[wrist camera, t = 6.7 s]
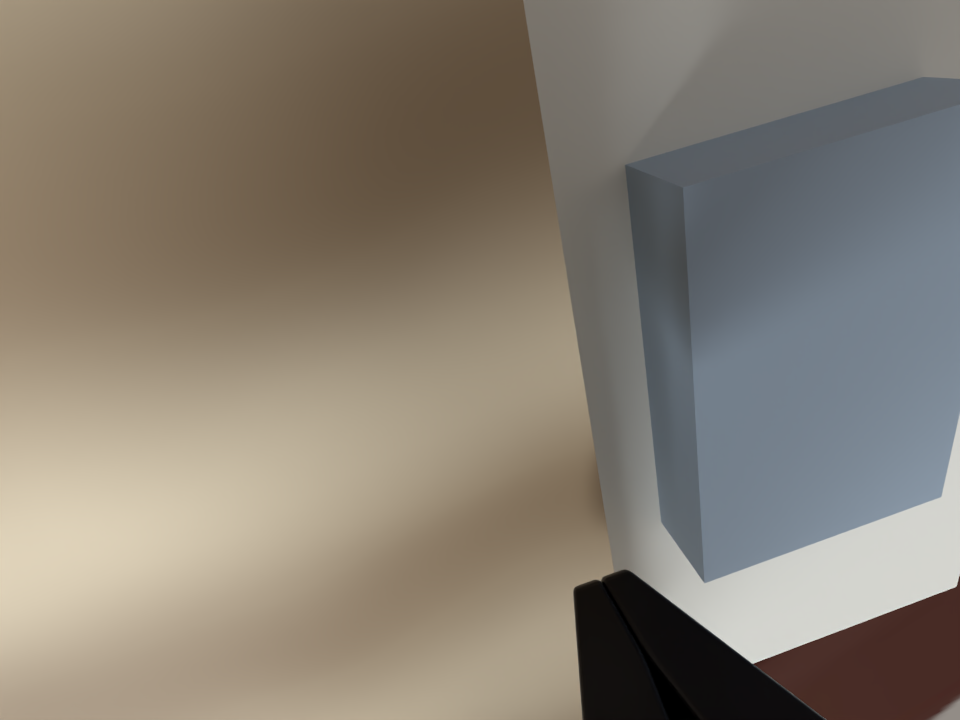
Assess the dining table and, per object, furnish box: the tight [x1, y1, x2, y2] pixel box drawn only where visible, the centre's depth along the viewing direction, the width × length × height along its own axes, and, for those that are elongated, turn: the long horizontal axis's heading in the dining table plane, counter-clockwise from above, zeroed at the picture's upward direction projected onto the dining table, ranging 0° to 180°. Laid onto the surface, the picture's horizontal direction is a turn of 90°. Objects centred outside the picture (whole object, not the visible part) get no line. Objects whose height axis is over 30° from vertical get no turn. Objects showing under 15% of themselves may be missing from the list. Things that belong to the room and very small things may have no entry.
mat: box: [523, 0, 960, 664], centre depth 13 cm, size 24×12×1 cm, turn 13°
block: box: [625, 77, 960, 583], centre depth 12 cm, size 9×6×2 cm, turn 13°
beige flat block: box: [0, 0, 614, 720], centre depth 11 cm, size 20×11×4 cm, turn 13°
